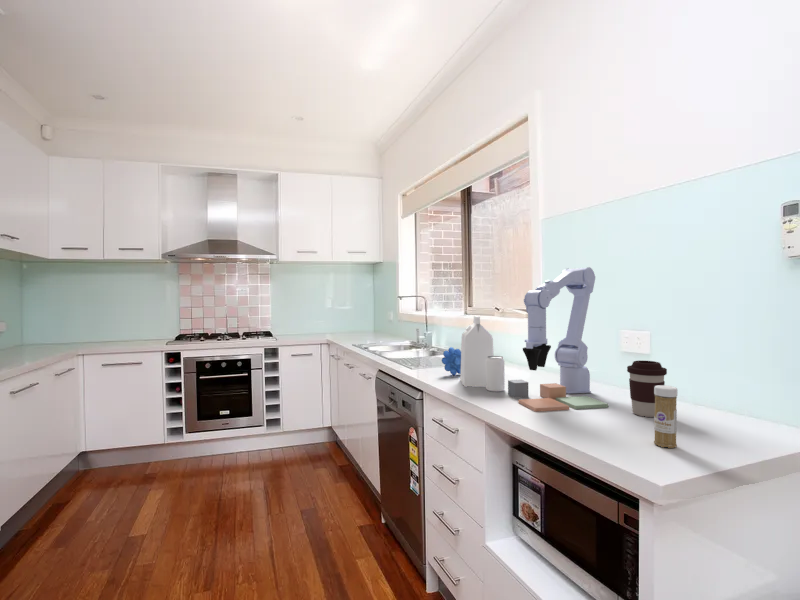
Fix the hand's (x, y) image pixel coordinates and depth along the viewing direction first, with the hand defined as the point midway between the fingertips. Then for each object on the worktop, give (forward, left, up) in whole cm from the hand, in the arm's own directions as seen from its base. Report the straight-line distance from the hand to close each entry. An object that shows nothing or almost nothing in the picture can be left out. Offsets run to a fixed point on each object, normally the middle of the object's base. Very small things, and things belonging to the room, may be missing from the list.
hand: (537, 368), depth 149 cm
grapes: (+13, -47, -10) cm, 50 cm away
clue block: (-6, -1, -10) cm, 12 cm away
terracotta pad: (+3, +9, -10) cm, 13 cm away
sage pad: (-10, +9, -10) cm, 17 cm away
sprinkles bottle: (-6, +48, -10) cm, 49 cm away
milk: (+10, -29, -10) cm, 33 cm away
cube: (+4, -6, -10) cm, 13 cm away
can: (+8, -16, -10) cm, 21 cm away
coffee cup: (-21, +24, -10) cm, 33 cm away
